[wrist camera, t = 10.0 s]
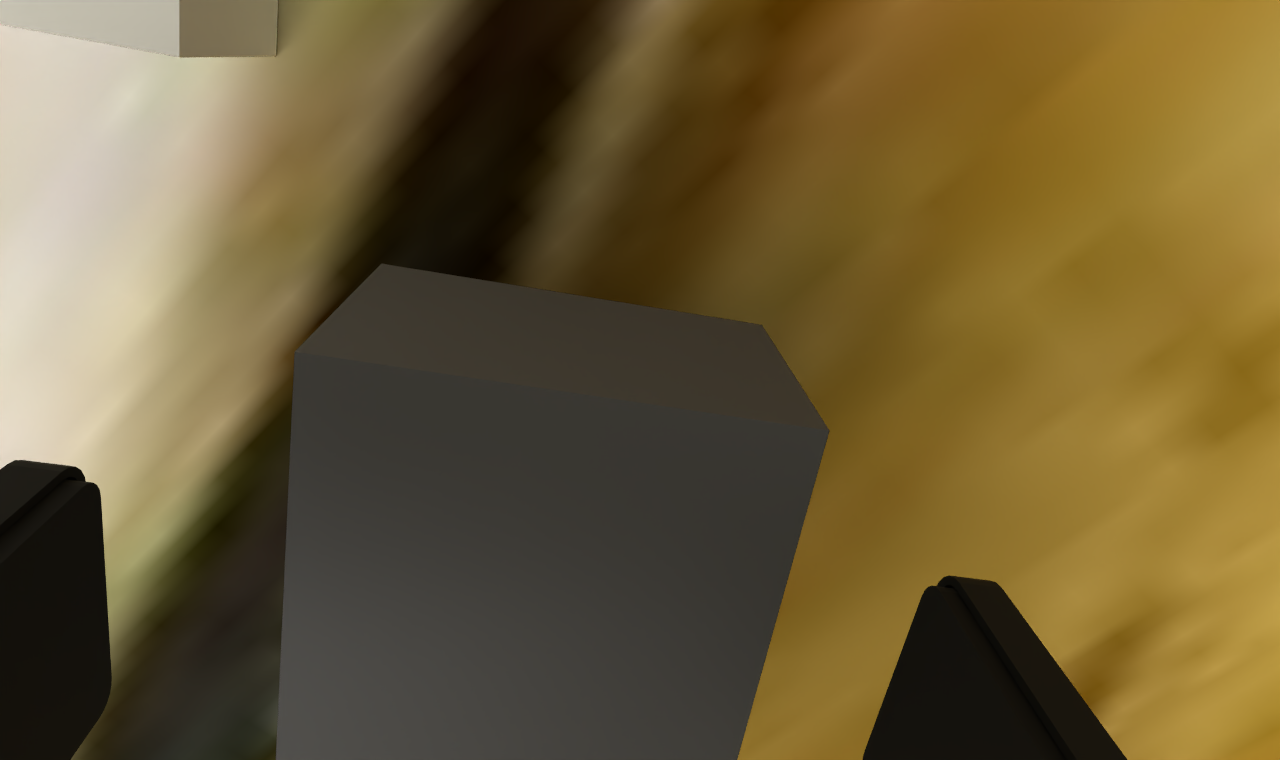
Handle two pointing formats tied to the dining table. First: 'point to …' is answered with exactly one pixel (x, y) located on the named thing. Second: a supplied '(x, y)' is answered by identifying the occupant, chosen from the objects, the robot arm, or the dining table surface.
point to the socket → (156, 24)
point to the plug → (534, 525)
